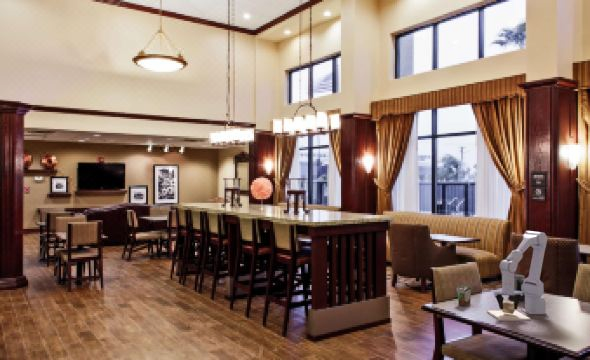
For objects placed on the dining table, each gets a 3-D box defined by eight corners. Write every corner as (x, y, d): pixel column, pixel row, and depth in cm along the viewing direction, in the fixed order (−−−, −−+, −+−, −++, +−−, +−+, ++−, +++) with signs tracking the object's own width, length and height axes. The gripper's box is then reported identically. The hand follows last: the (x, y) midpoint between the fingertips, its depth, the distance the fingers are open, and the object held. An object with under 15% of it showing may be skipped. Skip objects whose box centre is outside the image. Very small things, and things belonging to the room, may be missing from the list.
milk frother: (504, 298, 263) (504, 274, 263) (525, 296, 268) (525, 272, 268) (522, 304, 249) (522, 279, 250) (544, 302, 254) (544, 277, 254)
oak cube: (514, 311, 227) (514, 302, 227) (512, 313, 223) (512, 304, 223) (504, 310, 230) (504, 300, 230) (502, 312, 226) (502, 302, 226)
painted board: (516, 312, 234) (516, 310, 234) (530, 320, 220) (530, 318, 220) (487, 312, 234) (487, 310, 234) (499, 320, 220) (499, 318, 220)
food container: (460, 301, 256) (460, 284, 256) (471, 303, 252) (471, 286, 253) (453, 305, 247) (453, 288, 247) (464, 307, 243) (464, 290, 243)
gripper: (517, 281, 231) (517, 306, 231) (490, 281, 231) (491, 306, 231) (524, 284, 224) (524, 310, 224) (497, 284, 224) (497, 310, 224)
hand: (508, 308), depth 227 cm, fingers closed on oak cube, 7 cm apart
